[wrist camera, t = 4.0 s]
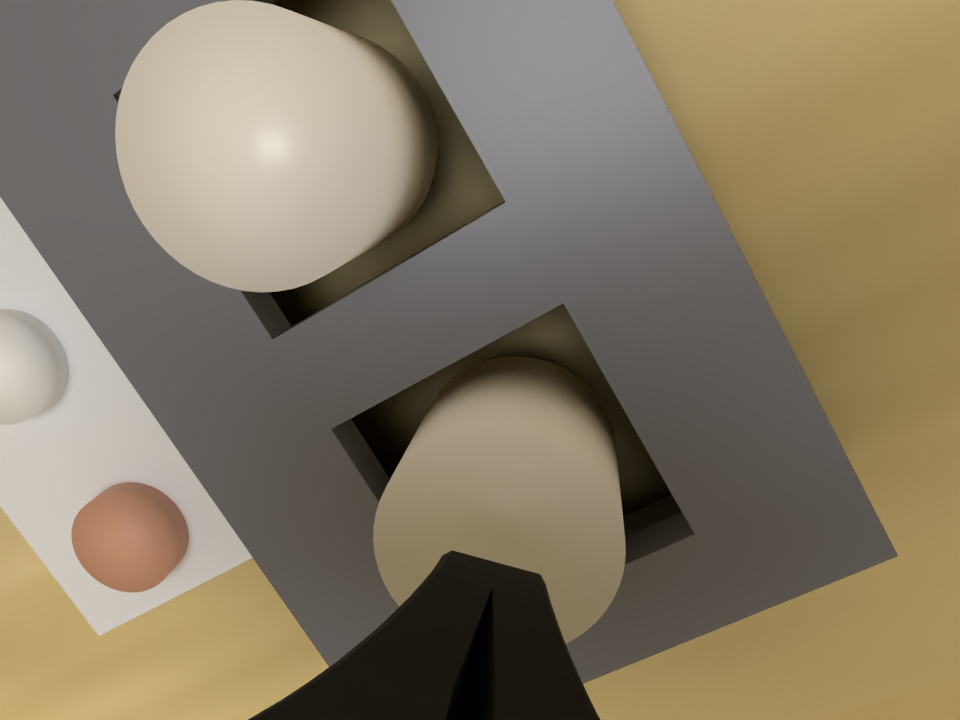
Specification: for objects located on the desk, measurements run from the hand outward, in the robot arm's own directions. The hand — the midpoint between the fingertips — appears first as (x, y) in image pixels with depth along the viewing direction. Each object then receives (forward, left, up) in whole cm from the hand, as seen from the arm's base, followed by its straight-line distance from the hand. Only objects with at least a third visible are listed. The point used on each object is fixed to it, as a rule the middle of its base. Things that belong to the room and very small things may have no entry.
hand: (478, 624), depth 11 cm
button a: (0, 0, -6) cm, 6 cm away
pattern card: (+11, +5, -8) cm, 15 cm away
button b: (+6, -4, -6) cm, 9 cm away
